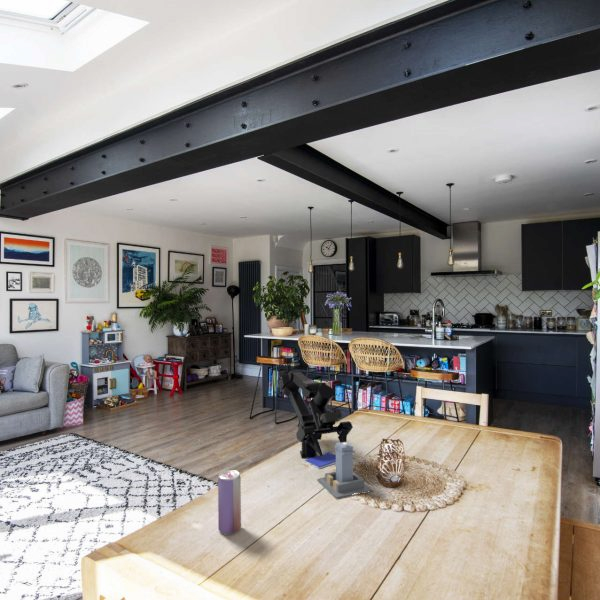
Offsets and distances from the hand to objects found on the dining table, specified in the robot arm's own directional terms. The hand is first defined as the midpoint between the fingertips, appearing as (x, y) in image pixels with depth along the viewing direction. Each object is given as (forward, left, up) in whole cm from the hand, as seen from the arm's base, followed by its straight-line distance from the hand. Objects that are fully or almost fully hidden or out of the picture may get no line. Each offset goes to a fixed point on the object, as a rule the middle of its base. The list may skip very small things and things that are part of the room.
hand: (333, 453), depth 149 cm
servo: (+7, +2, -7) cm, 11 cm away
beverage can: (+29, -34, -8) cm, 45 cm away
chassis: (+7, +2, -8) cm, 11 cm away
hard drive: (-14, -1, -9) cm, 17 cm away
